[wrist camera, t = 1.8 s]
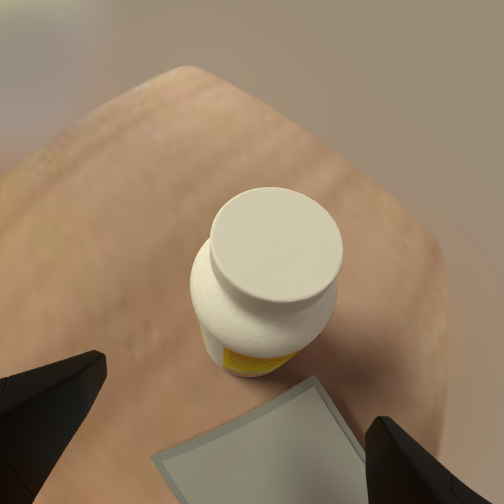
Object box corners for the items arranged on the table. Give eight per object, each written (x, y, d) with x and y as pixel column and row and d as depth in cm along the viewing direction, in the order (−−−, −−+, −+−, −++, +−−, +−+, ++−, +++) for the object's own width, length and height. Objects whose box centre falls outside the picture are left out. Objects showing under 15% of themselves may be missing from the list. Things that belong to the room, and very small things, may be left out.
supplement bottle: (310, 340, 21) (402, 257, 10) (241, 396, 18) (271, 383, 7) (254, 276, 23) (284, 148, 12) (184, 324, 21) (144, 219, 10)
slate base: (379, 490, 15) (395, 496, 13) (243, 566, 11) (246, 581, 9) (306, 377, 19) (316, 373, 17) (157, 451, 16) (148, 456, 13)
